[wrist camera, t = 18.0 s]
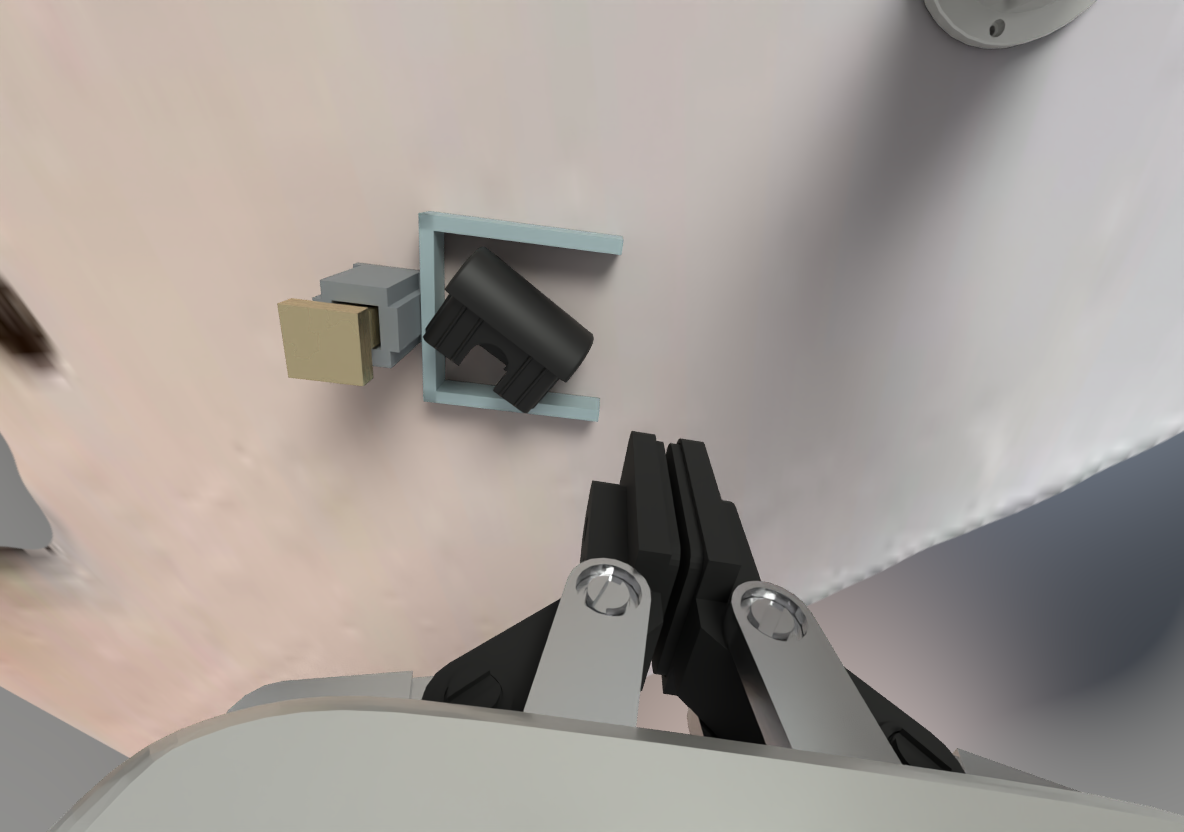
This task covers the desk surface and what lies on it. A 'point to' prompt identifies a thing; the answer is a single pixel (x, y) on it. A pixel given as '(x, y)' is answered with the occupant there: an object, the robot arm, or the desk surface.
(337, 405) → the desk surface
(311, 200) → the desk surface
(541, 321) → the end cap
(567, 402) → the u-shaped bracket with socket
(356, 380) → the pin
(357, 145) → the desk surface
